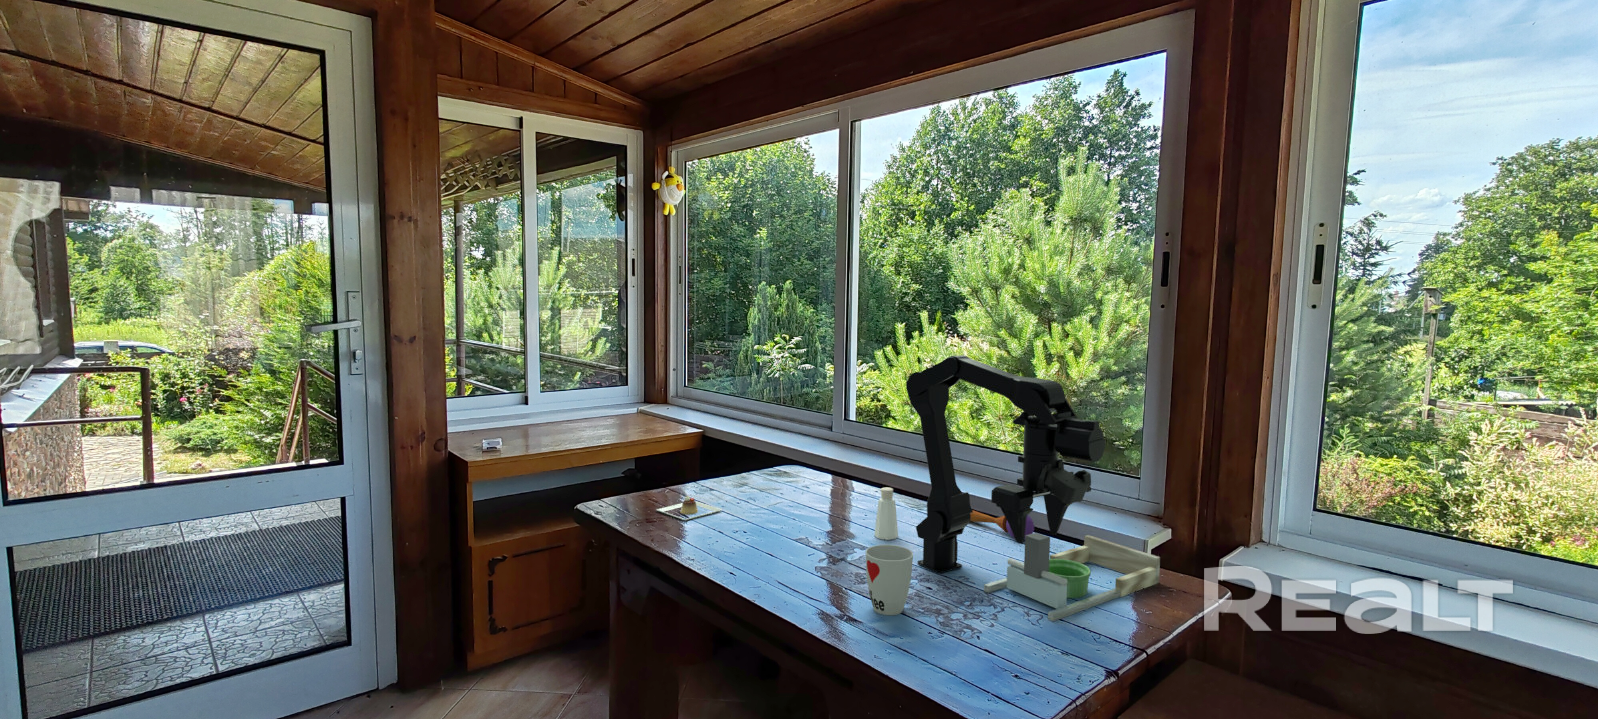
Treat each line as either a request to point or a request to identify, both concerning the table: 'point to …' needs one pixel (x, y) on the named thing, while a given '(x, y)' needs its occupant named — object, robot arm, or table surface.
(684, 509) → the dessert
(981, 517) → the maraca
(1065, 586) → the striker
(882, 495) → the pepper shaker
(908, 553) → the cup
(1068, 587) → the ramekin
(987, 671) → the table surface
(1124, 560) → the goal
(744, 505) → the table surface
